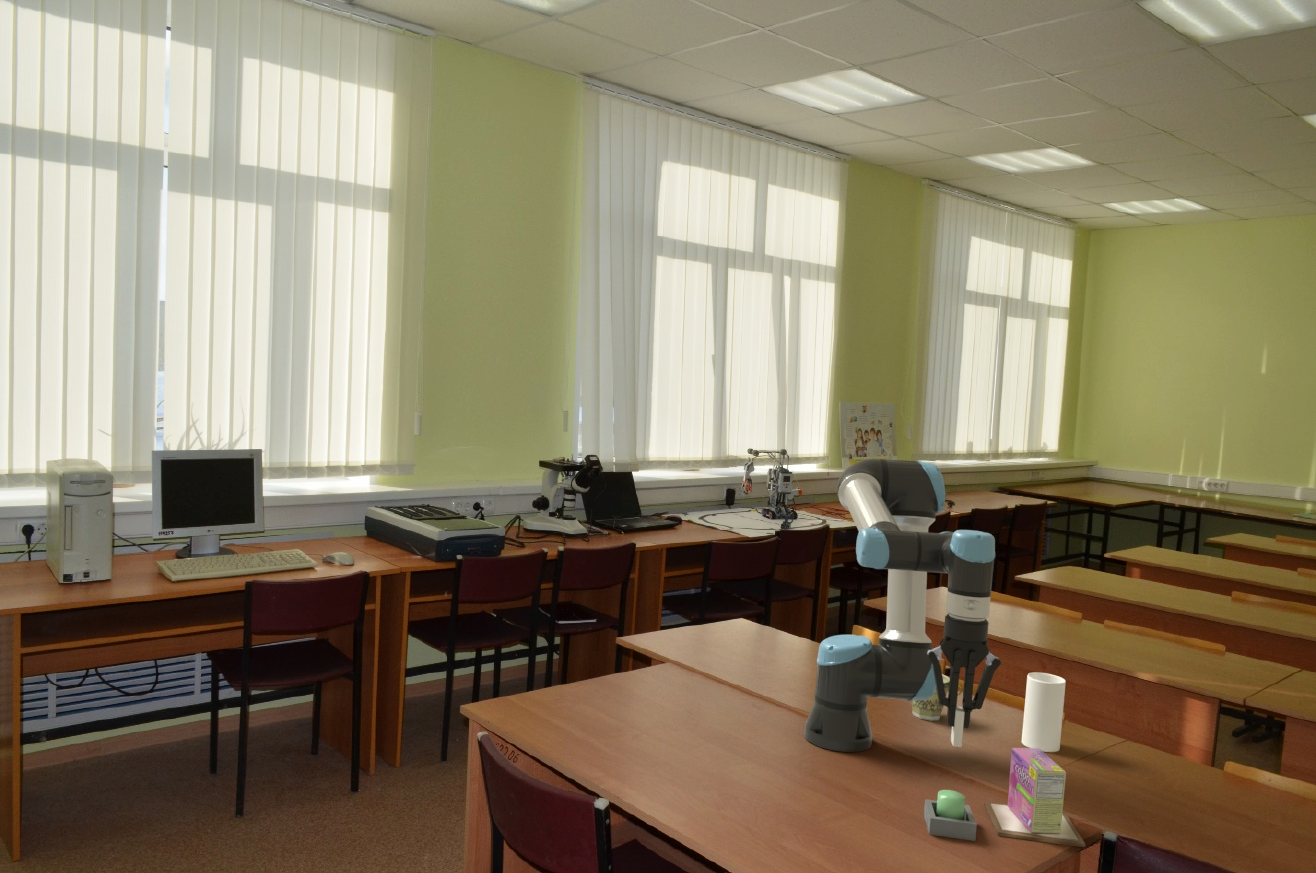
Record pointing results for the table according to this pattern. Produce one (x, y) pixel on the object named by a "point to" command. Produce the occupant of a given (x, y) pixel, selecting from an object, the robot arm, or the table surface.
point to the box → (1036, 790)
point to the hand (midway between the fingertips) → (956, 744)
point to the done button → (950, 804)
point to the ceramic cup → (931, 704)
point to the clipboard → (1013, 827)
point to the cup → (1043, 711)
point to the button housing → (949, 823)
